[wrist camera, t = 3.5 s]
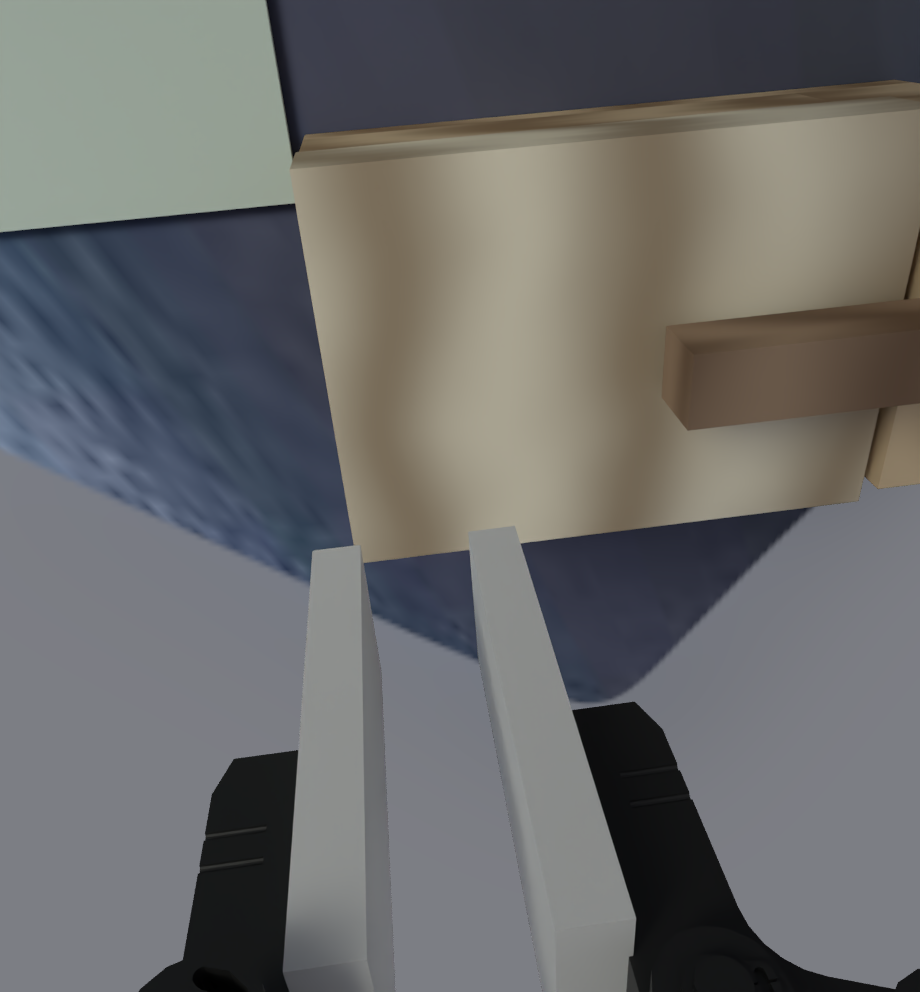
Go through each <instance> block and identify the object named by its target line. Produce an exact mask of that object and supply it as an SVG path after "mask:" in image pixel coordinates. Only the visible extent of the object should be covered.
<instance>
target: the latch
mask: <svg viewBox="0 0 920 992" xmlns="http://www.w3.org/2000/svg"><path fill="white" fill-rule="evenodd" d="M661 397H662V399H663V400H664V401H665V402H666V404H667V405H668V406H669V408H670V409H671V410H672V411H673V413H674V414H675V415H676V417H677V418H678V419H679V420H680V422H681V423H682V424H683V426H684V427H685V428H686V429H687V431H690V430H698V429H707V428H715V427H724V426H732V425H741V424H749V423H758V422H766V421H775V420H783V419H792V418H800V417H809V416H817V415H826V414H834V413H843V412H851V411H860V410H868V409H877V408H885V407H894V406H902V405H911V404H919V403H920V298H915V299H906V300H897V301H888V302H879V303H870V304H860V305H851V306H842V307H833V308H824V309H815V310H806V311H797V312H788V313H779V314H769V315H760V316H751V317H742V318H733V319H724V320H715V321H706V322H697V323H688V324H678V325H669V326H666V336H665V351H664V366H663V381H662V396H661Z"/></svg>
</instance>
